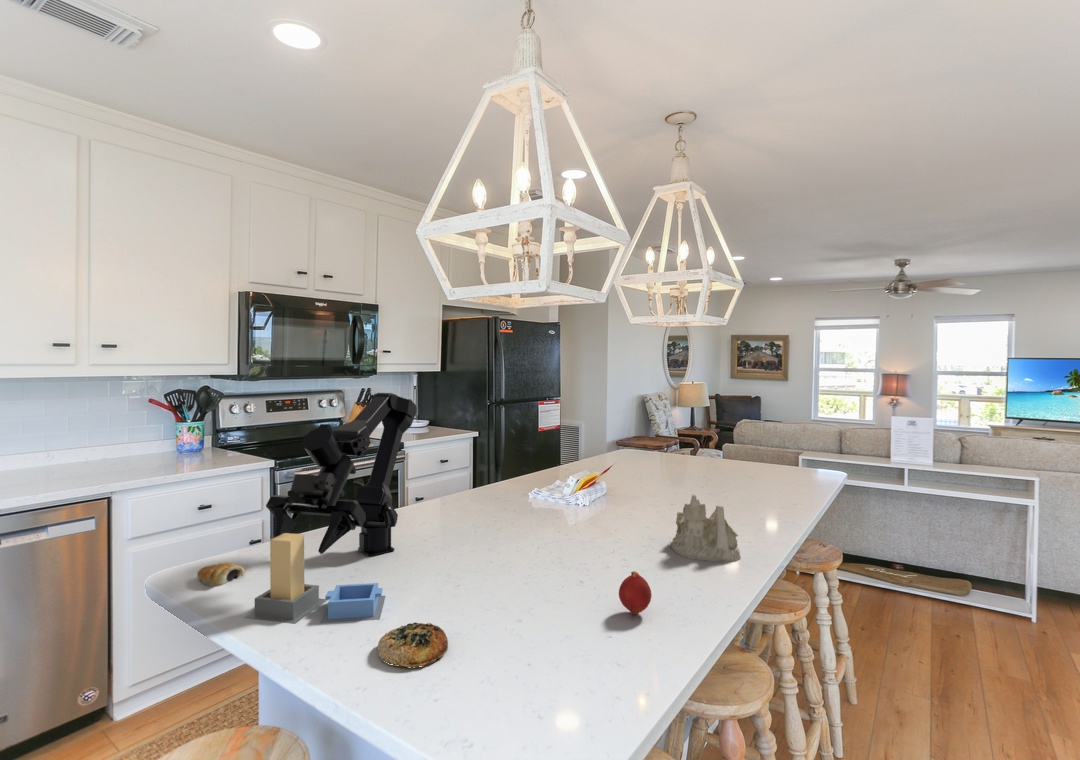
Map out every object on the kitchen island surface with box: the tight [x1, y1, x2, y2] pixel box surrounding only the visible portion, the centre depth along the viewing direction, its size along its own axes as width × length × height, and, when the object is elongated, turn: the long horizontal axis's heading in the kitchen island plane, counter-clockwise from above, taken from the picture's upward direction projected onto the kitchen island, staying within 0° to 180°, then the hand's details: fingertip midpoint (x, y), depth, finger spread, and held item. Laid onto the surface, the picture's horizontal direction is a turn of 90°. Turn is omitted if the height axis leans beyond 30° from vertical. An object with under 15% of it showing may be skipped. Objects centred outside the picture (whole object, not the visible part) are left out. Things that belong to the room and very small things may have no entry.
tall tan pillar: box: [269, 532, 305, 600], centre depth 102 cm, size 4×4×13 cm
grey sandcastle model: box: [670, 494, 742, 563], centre depth 139 cm, size 16×16×15 cm
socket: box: [243, 583, 328, 624], centre depth 102 cm, size 10×10×4 cm
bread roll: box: [377, 622, 449, 668], centre depth 88 cm, size 11×11×5 cm
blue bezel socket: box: [319, 582, 386, 624], centre depth 102 cm, size 10×10×4 cm
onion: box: [618, 570, 653, 616], centre depth 102 cm, size 6×6×8 cm
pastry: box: [197, 562, 246, 588], centre depth 116 cm, size 9×7×4 cm
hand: (297, 550), depth 104 cm, fingers open, 9 cm apart
